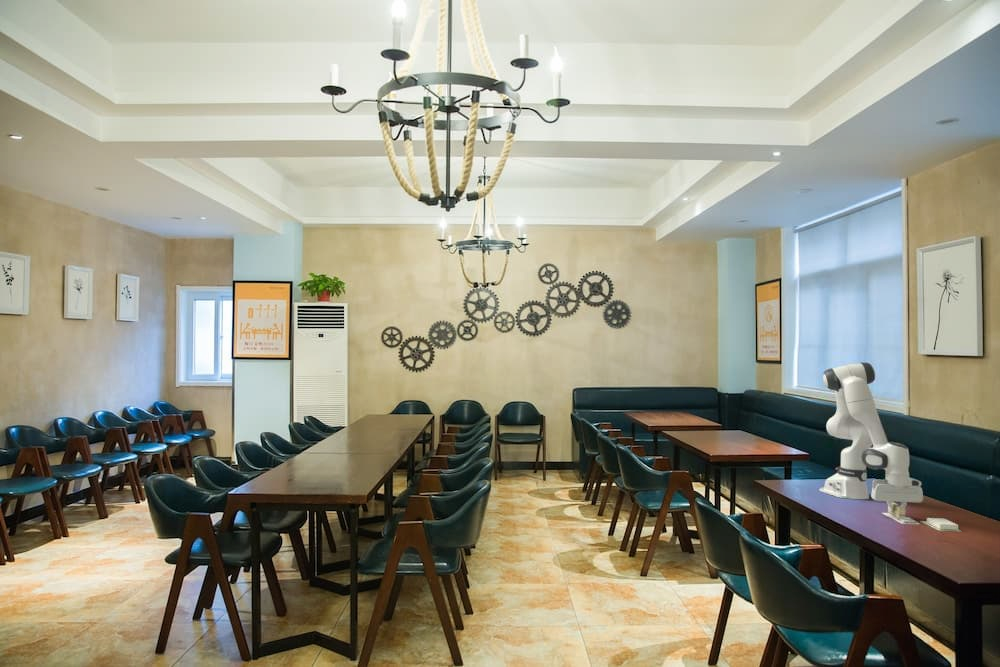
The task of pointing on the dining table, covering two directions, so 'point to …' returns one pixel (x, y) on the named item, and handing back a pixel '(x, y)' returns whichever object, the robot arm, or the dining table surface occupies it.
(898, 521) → the pad
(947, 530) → the mat
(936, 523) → the tile
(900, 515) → the turner
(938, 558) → the dining table surface
